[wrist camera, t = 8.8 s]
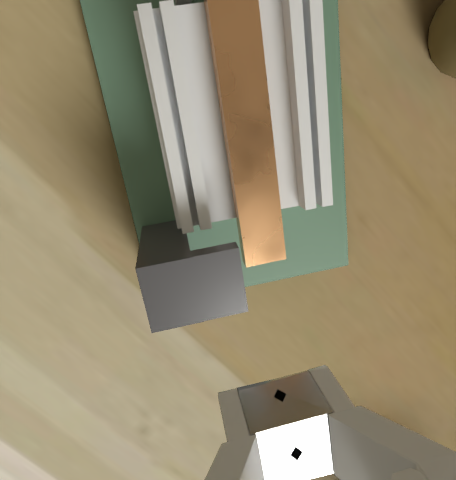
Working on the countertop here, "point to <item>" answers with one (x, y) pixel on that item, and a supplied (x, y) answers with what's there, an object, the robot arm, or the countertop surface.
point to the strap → (247, 126)
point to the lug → (187, 278)
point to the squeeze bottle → (444, 38)
